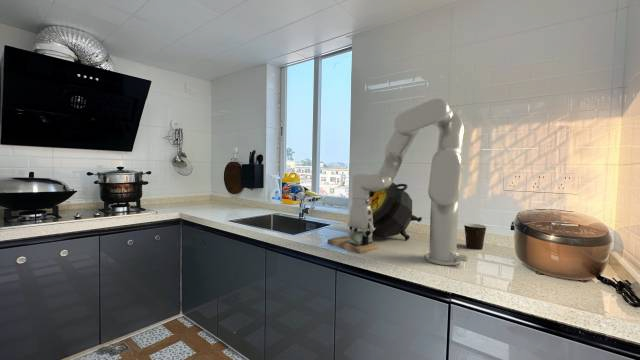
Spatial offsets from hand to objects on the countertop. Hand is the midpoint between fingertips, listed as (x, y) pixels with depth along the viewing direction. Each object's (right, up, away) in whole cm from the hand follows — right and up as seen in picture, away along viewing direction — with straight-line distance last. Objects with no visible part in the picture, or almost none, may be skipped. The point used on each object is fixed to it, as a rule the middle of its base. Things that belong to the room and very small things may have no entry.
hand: (360, 243), depth 124 cm
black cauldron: (+16, -2, +20) cm, 25 cm away
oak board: (-3, -2, +3) cm, 5 cm away
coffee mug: (+50, -3, +2) cm, 50 cm away
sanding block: (0, 0, 0) cm, 0 cm away
